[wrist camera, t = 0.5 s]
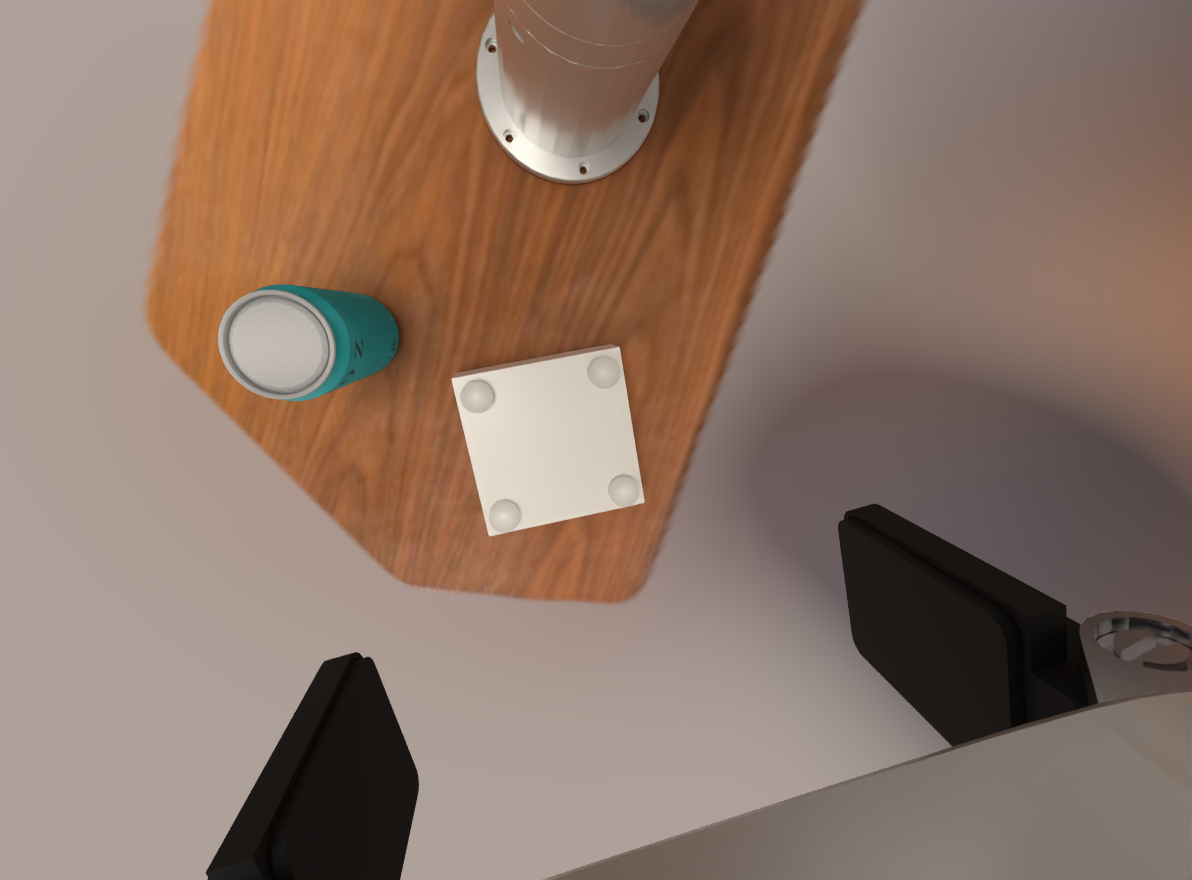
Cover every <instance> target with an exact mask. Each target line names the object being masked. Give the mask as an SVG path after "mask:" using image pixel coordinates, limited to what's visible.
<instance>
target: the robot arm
mask: <svg viewBox="0 0 1192 880" xmlns="http://www.w3.org/2000/svg"><path fill="white" fill-rule="evenodd" d="M698 1H699V0H493V3H494V13H493V14H492V16H491V17H490V19H489V21H488V23H487V25H486V27H485V30H484V32H483V34H482V36H481V41H480V45H479V49H478V53H477V63H476V82H477V91H478V97H479V102H480V106H481V110H482V113H483V115H484V118H485V120H486V123H487V125H488V128H489V130H490V131H491V133H492V135H493V136H494V138H495V140H496V141H497V143H498V144H499V146H500V147H501V148H502V149H503V150H504V151H505V153H506V154H507V155H508V156H509V157H510V158H511V159H512V160H513V161H515V162H516V163H517V164H518V165H519V166H521V167H522V168H523V169H525V170H526V171H528V172H530V173H532V174H534V175H536V176H537V177H539V178H542V179H546V180H549V181H552V182H555V183H564V184H581V183H589V182H592V181H595V180H598V179H601V178H604V177H606V176H608V175H610V174H611V173H613V172H615V171H617V170H618V169H619V168H621V167H622V166H623V165H624V164H625V163H626V162H627V161H629V160H630V159H631V158H632V156H633V155H634V154H635V153H636V151H637V150H638V149H639V148H640V146H641V145H642V143H643V141H644V140H645V138H646V136H647V135H648V133H649V131H650V128H651V126H652V124H653V121H654V118H655V114H656V109H657V105H658V100H659V80H660V79H659V69H660V68H661V66H662V64H663V62H664V61H665V59H666V57H667V55H668V54H669V52H670V50H671V49H672V47H673V45H674V43H675V42H676V40H677V38H678V36H679V35H680V33H681V31H682V29H683V28H684V26H685V24H686V23H687V21H688V19H689V17H690V16H691V14H692V12H693V10H694V8H695V6H696V4H697V3H698ZM490 48H494V49H495V50H496V52H494V53H490V52H489V49H490ZM638 117H643V118H644V122H643V123H642V122H640V121H639V120H638ZM508 136H511V137H512V138H513V141H512V142H511V143H509V142H507V141H506V137H508ZM580 168H584V169H585V170H586V174H581V173H580ZM838 532H839V539H840V547H841V555H842V562H843V570H844V578H845V584H846V593H847V600H848V608H849V615H850V623H851V630H852V637H853V640H854V643H855V645H856V647H857V649H858V651H859V652H860V654H861V655H862V656H863V657H864V658H865V659H866V660H867V661H868V662H869V663H870V664H871V665H872V666H873V667H874V668H875V669H876V670H877V671H878V672H879V673H880V674H881V675H882V676H883V677H884V678H885V679H886V680H887V681H888V682H889V683H890V684H891V685H892V686H893V687H894V688H895V689H896V690H897V691H898V692H899V693H900V694H901V695H902V696H903V697H904V698H905V699H906V700H907V701H908V702H909V703H910V704H911V705H912V706H913V707H914V708H915V709H916V710H917V711H918V712H919V713H920V714H921V715H922V716H923V717H924V718H925V719H926V720H927V721H928V722H929V723H930V724H931V725H932V726H933V727H934V728H935V729H936V730H937V731H938V732H939V733H940V734H941V735H942V736H943V737H944V738H945V739H946V740H947V741H948V742H949V743H950V744H951V746H952V747H950V748H947V749H944V750H941V751H938V752H935V753H931V754H928V755H926V756H922V757H919V758H916V759H913V760H909V761H906V762H903V763H900V764H897V765H894V766H891V767H888V768H885V769H881V770H878V771H875V772H872V773H869V774H866V775H863V776H860V777H856V778H853V779H850V780H847V781H844V782H840V783H837V784H835V785H831V786H828V787H825V788H822V789H818V790H815V791H812V792H809V793H806V794H803V795H800V796H797V797H793V798H791V799H787V800H784V801H781V802H778V803H775V804H772V805H769V806H766V807H763V808H760V809H757V810H753V811H750V812H747V813H744V814H741V815H738V816H735V817H732V818H729V819H726V820H723V821H720V822H716V823H713V824H710V825H707V826H705V827H701V828H698V829H695V830H692V831H689V832H686V833H683V834H680V835H677V836H674V837H671V838H668V839H664V840H662V841H658V842H655V843H653V844H649V845H646V846H643V847H640V848H637V849H634V850H631V851H628V852H625V853H622V854H619V855H616V856H612V857H609V858H607V859H603V860H600V861H597V862H594V863H591V864H588V865H586V866H582V867H579V868H576V869H573V870H570V871H567V872H564V873H561V874H558V875H556V876H552V877H549V878H546V879H543V880H1192V626H1191V625H1189V624H1186V623H1184V622H1181V621H1179V620H1175V619H1172V618H1168V617H1165V616H1161V615H1157V614H1150V613H1144V612H1137V611H1111V612H1104V613H1098V614H1096V615H1093V616H1091V617H1088V618H1086V620H1085V621H1084V622H1083V623H1082V624H1079V623H1077V622H1075V621H1073V620H1072V619H1070V618H1068V617H1066V605H1064V604H1062V603H1060V602H1058V601H1057V600H1055V599H1053V598H1051V597H1049V596H1047V595H1046V594H1044V593H1042V592H1040V591H1038V590H1036V589H1034V588H1032V587H1031V586H1028V585H1027V584H1025V583H1023V582H1021V581H1020V580H1018V579H1016V578H1014V577H1012V576H1010V575H1008V574H1007V573H1005V572H1003V571H1001V570H999V569H997V568H995V567H994V566H991V565H990V564H988V563H986V562H984V561H982V560H980V559H979V558H977V557H975V556H973V555H971V554H969V553H968V552H966V551H964V550H962V549H960V548H958V547H956V546H954V545H953V544H951V543H949V542H947V541H945V540H943V539H941V538H940V537H938V536H936V535H934V534H932V533H930V532H928V531H926V530H925V529H923V528H921V527H919V526H917V525H915V524H914V523H912V522H910V521H908V520H906V519H904V518H902V517H901V516H899V515H897V514H895V513H893V512H891V511H889V510H888V509H886V508H884V507H882V506H880V505H878V504H871V505H868V506H864V507H861V508H857V509H854V510H850V511H847V512H846V513H845V516H844V520H842V521H840V522H839V524H838ZM418 790H419V780H418V773H417V770H416V767H415V764H414V762H413V759H412V757H411V754H410V752H409V749H408V746H407V744H406V741H405V739H404V736H403V734H402V731H401V729H400V726H399V724H398V722H397V719H396V716H395V714H394V711H393V709H392V706H391V704H390V701H389V699H388V696H387V694H386V691H385V689H384V687H383V684H382V681H381V679H380V676H379V673H378V671H377V668H376V666H375V664H374V662H373V660H372V659H371V658H370V657H366V658H363V657H362V656H361V655H360V653H357V652H355V653H351V654H348V655H344V656H341V657H337V658H334V659H330V660H327V661H324V663H323V664H322V665H321V667H320V669H319V670H318V672H317V674H316V676H315V678H314V680H313V681H312V683H311V685H310V687H309V688H308V690H307V692H306V694H305V696H304V698H303V699H302V701H301V703H300V705H299V707H298V708H297V710H296V712H295V713H294V716H293V718H292V719H291V721H290V722H289V724H288V726H287V728H286V730H285V732H284V733H283V735H282V737H281V739H280V740H279V742H278V744H277V746H276V748H275V749H274V751H273V753H272V755H271V757H270V758H269V760H268V762H267V764H266V766H265V767H264V769H263V771H262V773H261V774H260V776H259V778H258V780H257V782H256V784H255V785H254V787H253V789H252V791H251V793H250V794H249V796H248V798H247V800H246V801H245V803H244V805H243V807H242V809H241V810H240V812H239V814H238V816H237V818H236V819H235V821H234V823H233V825H232V827H231V828H230V830H229V832H228V834H227V835H226V837H225V839H224V841H223V843H222V845H221V846H220V848H219V850H218V852H217V854H216V855H215V857H214V859H213V861H212V862H211V864H210V866H209V868H208V869H207V871H206V874H207V876H208V880H400V877H401V872H402V868H403V863H404V859H405V854H406V849H407V844H408V839H409V834H410V830H411V825H412V820H413V815H414V810H415V806H416V801H417V796H418Z"/></svg>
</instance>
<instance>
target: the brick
mask: <svg viewBox="0 0 1192 880" xmlns="http://www.w3.org/2000/svg"><path fill="white" fill-rule="evenodd" d="M451 380H452V384H453V388H454V392H455V396H456V401H457V405H458V409H459V413H460V417H461V421H462V426H463V430H464V434H465V438H466V442H467V446H468V451H469V455H470V459H471V463H472V467H473V471H474V476H475V480H476V484H477V488H478V492H479V496H480V501H481V505H482V509H483V513H484V517H485V521H486V526H487V530H488V534H489V536H493V535H498V534H502V533H507V532H512V531H516V530H521V529H526V528H530V527H535V526H540V525H544V524H549V523H553V522H558V521H563V520H567V519H572V518H577V517H581V516H586V515H591V514H595V513H600V512H604V511H609V510H614V509H618V508H623V507H628V506H632V505H637V504H642V503H645V502H644V496H643V489H642V483H641V477H640V471H639V465H638V458H637V452H636V446H635V440H634V434H633V427H632V421H631V415H630V409H629V403H628V396H627V390H626V384H625V378H624V372H623V365H622V359H621V353H620V347H618V346H615V345H612V344H607V345H602V346H596V347H591V348H586V349H580V350H575V351H570V352H564V353H559V354H554V355H548V356H543V357H538V358H532V359H527V360H522V361H516V362H511V363H506V364H500V365H495V366H490V367H484V368H479V369H474V370H468V371H463V372H458V373H456V374H455V375H454V376H453V377H452V378H451Z"/></svg>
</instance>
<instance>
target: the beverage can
mask: <svg viewBox="0 0 1192 880" xmlns="http://www.w3.org/2000/svg"><path fill="white" fill-rule="evenodd" d="M398 343H399V332H398V328H397V324H396V322H395V319H394V318H393V316H392V314H391V313H390V312H389V310H388V309H387V308H386V307H385V306H384V305H383V304H382V303H380V302H379V301H377V300H376V299H374V298H372V297H370V296H367V295H364V294H358V293H351V292H343V291H335V290H327V289H318V288H310V287H302V286H294V285H271V286H267V287H263V288H260V289H258V290H256V291H254V292H252V293H249V294H247V295H245V296H243V297H241V298H240V299H238V300H237V301H236V302H234V303H233V304H232V305H231V306H230V307H229V308H228V310H227V311H226V313H225V314H224V316H223V318H222V321H221V323H220V327H219V332H218V344H219V351H220V354H221V357H222V360H223V362H224V364H225V366H226V368H227V369H228V371H229V372H230V373H231V375H232V376H233V377H234V378H235V379H236V380H237V381H238V382H239V383H240V384H242V385H243V386H244V387H245V388H247V389H249V390H250V391H252V392H254V393H256V394H258V395H261V396H264V397H268V398H272V399H279V400H287V401H304V400H310V399H313V398H316V397H319V396H321V395H324V394H326V393H329V392H331V391H333V390H336V389H338V388H341V387H343V386H345V385H348V384H350V383H353V382H355V381H357V380H360V379H362V378H365V377H367V376H369V375H372V374H374V373H376V372H378V371H380V370H382V369H383V368H385V367H386V366H387V365H388V364H389V363H390V362H391V361H392V359H393V358H394V356H395V354H396V352H397V348H398Z"/></svg>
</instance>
